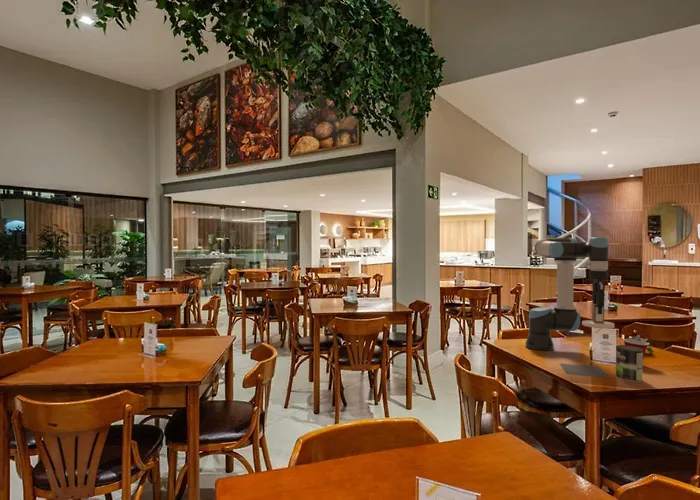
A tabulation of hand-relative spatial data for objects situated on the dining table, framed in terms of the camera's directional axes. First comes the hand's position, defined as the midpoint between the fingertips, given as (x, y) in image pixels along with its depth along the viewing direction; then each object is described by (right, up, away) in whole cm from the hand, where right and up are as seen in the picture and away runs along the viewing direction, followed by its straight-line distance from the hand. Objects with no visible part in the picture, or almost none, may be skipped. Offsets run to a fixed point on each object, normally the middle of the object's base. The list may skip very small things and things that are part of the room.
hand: (598, 320), depth 193 cm
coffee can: (+10, -26, -7) cm, 28 cm away
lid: (0, -3, 0) cm, 3 cm away
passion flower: (+47, -25, +40) cm, 67 cm away
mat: (-4, -25, +4) cm, 26 cm away
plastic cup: (+29, -25, +17) cm, 42 cm away
